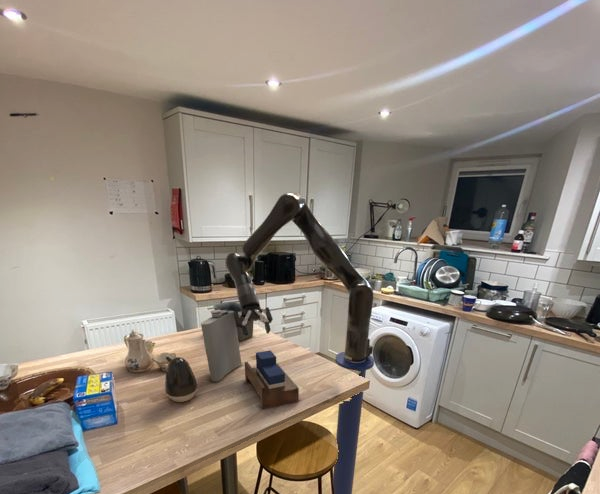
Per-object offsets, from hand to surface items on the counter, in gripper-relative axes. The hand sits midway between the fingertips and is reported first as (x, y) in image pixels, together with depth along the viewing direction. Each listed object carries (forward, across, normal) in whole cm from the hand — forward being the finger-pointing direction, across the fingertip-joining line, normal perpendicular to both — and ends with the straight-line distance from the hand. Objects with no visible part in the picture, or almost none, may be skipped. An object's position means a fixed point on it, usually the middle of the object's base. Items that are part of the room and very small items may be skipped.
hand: (257, 334), depth 128 cm
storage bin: (-18, 0, +40) cm, 43 cm away
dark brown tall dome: (+18, -31, +4) cm, 36 cm away
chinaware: (-4, -41, +26) cm, 48 cm away
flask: (+8, -13, +13) cm, 20 cm away
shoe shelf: (+23, -1, -1) cm, 23 cm away
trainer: (+19, -1, -4) cm, 20 cm away
